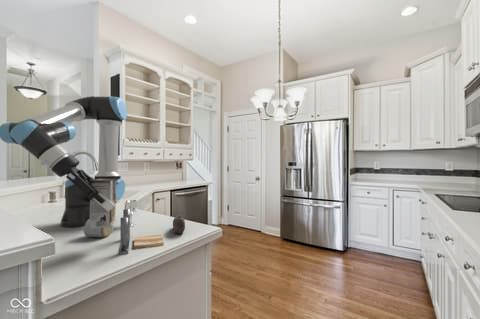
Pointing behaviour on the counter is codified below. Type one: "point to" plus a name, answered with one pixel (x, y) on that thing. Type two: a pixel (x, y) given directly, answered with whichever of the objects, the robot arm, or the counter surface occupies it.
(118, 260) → the counter surface
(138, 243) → the oak trivet
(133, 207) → the wineglass
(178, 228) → the perforated stone tool
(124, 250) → the metal drawer handle
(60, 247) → the counter surface
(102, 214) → the coffee box
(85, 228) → the ceramic mug
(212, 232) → the counter surface
